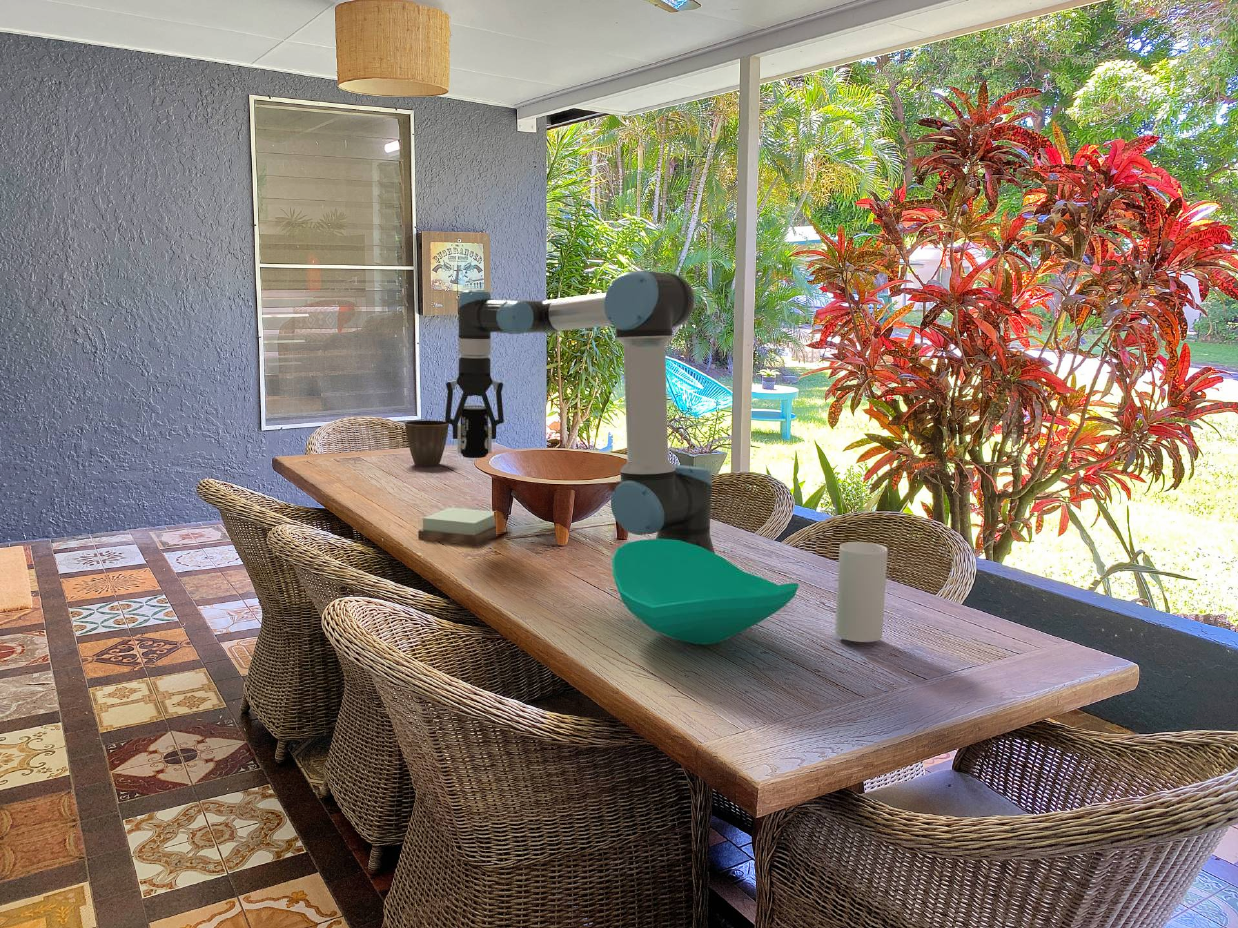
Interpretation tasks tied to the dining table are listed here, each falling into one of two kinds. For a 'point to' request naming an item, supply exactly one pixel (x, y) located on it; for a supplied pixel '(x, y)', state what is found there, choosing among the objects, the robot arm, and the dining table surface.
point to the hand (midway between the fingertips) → (474, 452)
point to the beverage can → (474, 432)
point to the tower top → (460, 521)
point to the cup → (861, 591)
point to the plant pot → (426, 441)
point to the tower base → (458, 536)
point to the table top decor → (693, 591)
